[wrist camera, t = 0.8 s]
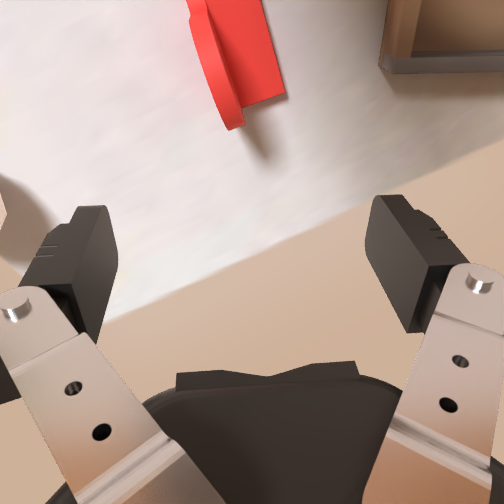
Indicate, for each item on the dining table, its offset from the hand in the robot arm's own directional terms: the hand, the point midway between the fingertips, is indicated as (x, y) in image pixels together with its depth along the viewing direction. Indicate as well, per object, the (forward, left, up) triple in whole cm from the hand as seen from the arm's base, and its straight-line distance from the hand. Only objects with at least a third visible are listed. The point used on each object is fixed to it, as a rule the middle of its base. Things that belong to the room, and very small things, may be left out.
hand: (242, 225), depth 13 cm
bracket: (-4, +1, -22) cm, 22 cm away
